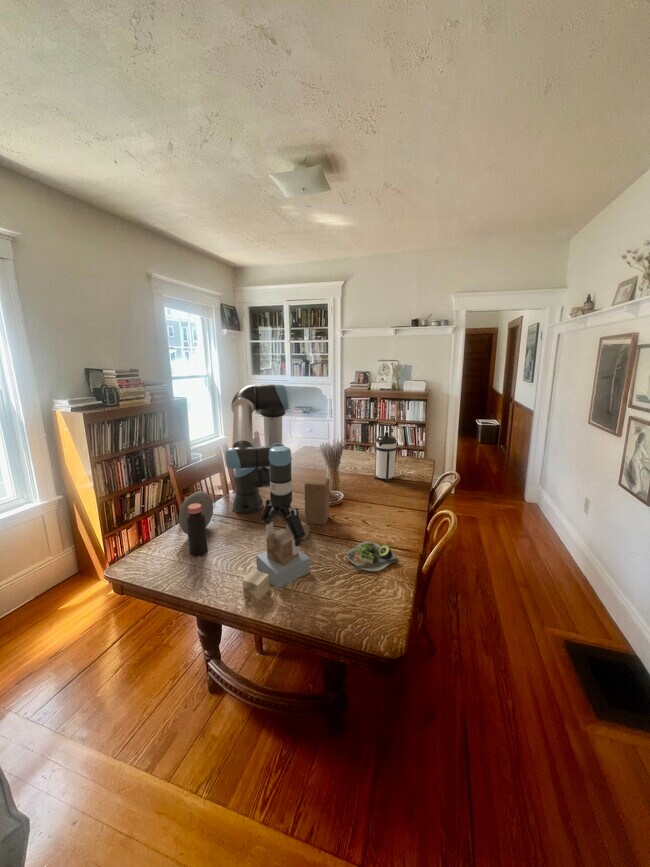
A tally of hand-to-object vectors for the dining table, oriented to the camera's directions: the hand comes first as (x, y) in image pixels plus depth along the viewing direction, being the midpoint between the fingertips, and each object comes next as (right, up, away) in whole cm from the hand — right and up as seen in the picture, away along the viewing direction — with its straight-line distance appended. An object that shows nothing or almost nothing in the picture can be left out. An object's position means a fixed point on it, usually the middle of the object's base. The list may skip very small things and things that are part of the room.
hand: (282, 546), depth 123 cm
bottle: (-35, -7, +13) cm, 38 cm away
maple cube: (-7, -12, -10) cm, 17 cm away
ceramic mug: (+4, -4, +26) cm, 26 cm away
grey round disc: (-41, -3, +28) cm, 49 cm away
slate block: (0, -10, +2) cm, 10 cm away
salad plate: (+34, -8, +10) cm, 36 cm away
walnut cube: (0, -4, +1) cm, 4 cm away
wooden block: (+12, -1, +40) cm, 41 cm away
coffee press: (+54, +12, +94) cm, 109 cm away
